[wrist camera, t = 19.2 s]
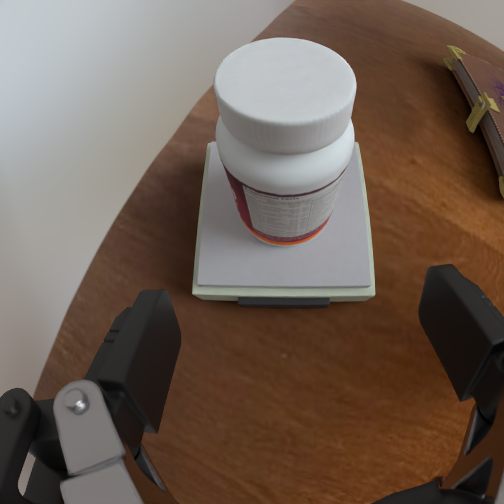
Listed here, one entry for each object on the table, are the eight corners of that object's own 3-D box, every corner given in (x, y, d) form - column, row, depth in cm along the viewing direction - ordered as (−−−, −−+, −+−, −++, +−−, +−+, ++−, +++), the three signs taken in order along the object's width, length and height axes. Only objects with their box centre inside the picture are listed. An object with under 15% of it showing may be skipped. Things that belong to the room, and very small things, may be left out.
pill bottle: (243, 165, 21) (211, 33, 10) (329, 168, 21) (355, 34, 10) (235, 248, 20) (181, 137, 9) (332, 252, 19) (385, 142, 8)
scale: (201, 306, 22) (187, 300, 19) (214, 160, 26) (205, 136, 22) (365, 307, 21) (379, 301, 18) (352, 159, 24) (360, 136, 21)
